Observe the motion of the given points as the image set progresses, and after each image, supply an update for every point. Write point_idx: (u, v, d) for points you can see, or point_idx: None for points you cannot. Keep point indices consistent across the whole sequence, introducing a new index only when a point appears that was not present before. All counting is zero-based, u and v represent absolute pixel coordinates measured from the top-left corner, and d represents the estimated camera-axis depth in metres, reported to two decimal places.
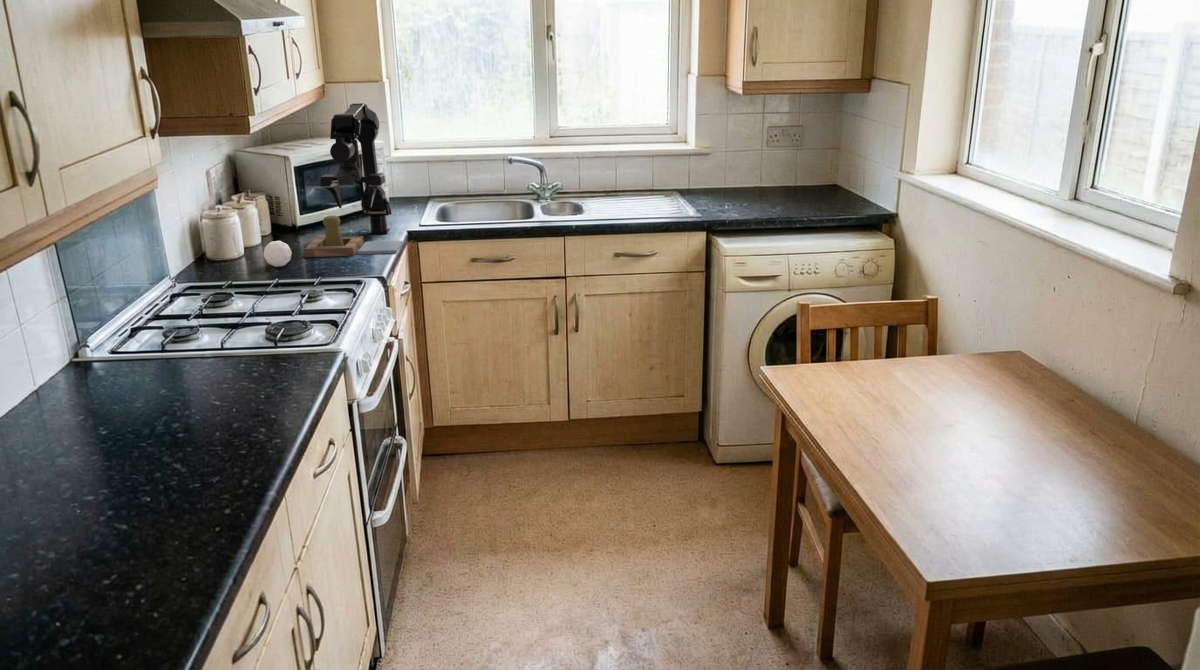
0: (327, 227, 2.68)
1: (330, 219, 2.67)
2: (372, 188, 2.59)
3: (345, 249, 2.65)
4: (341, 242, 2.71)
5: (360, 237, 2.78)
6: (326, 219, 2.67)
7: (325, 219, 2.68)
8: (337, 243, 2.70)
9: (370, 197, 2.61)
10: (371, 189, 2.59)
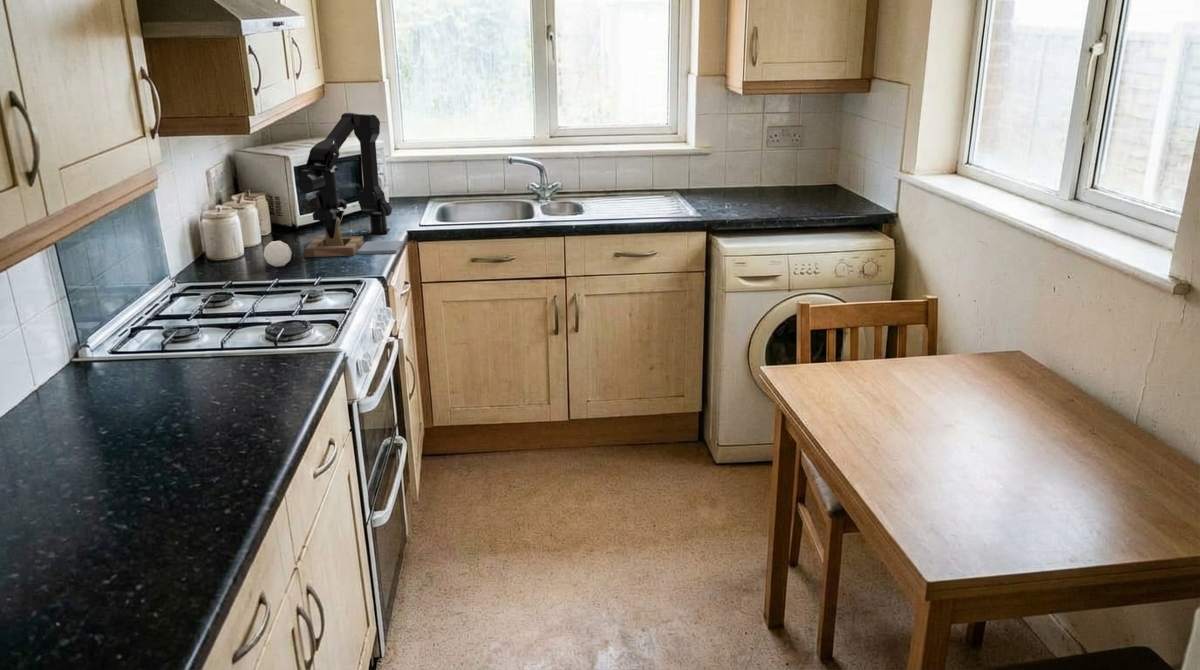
0: None
1: None
2: None
3: (345, 249, 2.65)
4: (341, 242, 2.71)
5: (360, 237, 2.78)
6: None
7: None
8: (337, 243, 2.70)
9: None
10: None
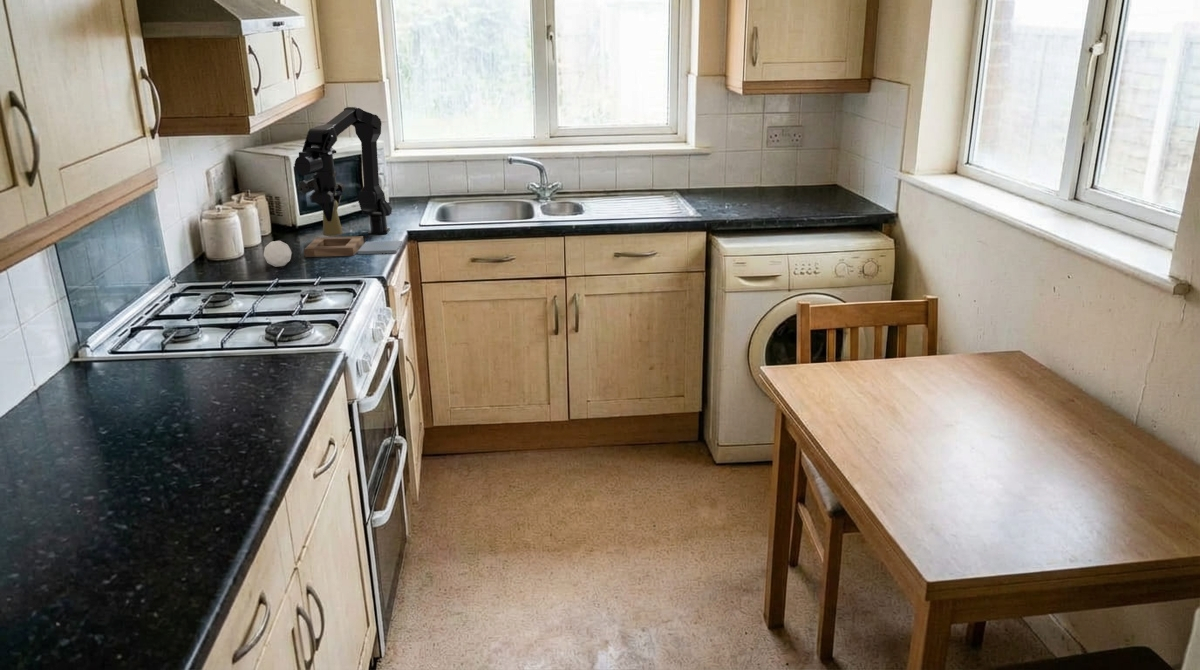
0: None
1: None
2: None
3: (345, 249, 2.65)
4: (339, 225, 2.69)
5: (360, 237, 2.78)
6: None
7: None
8: (335, 226, 2.68)
9: None
10: None
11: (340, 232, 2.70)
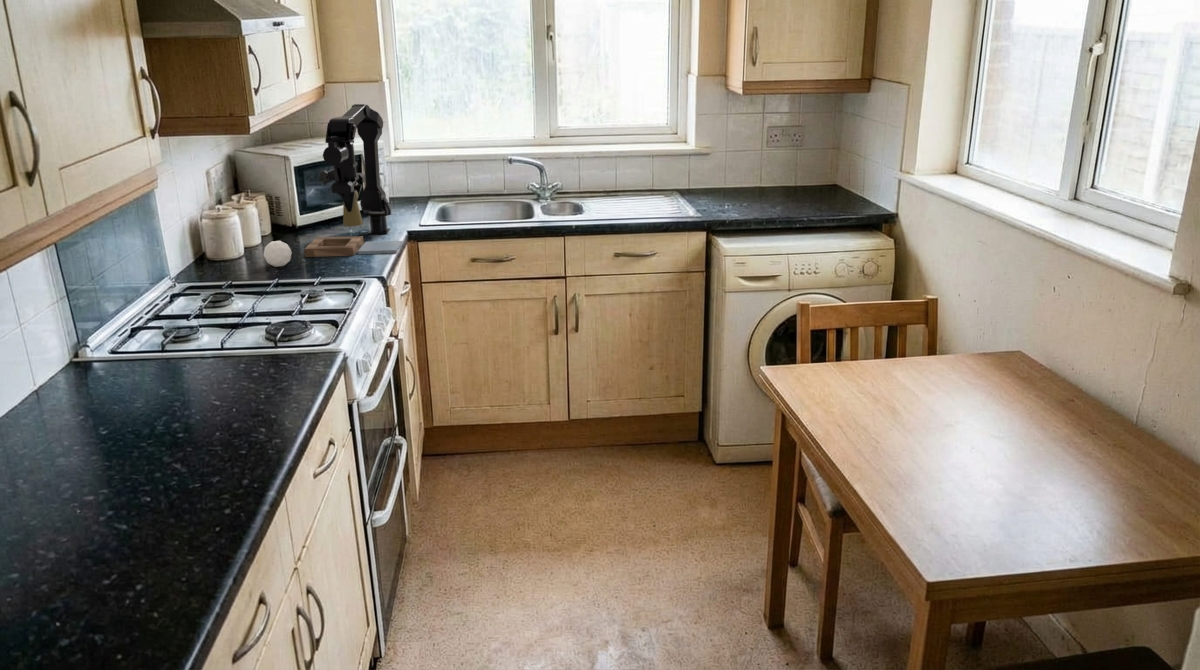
0: None
1: None
2: None
3: (345, 249, 2.65)
4: (359, 216, 2.69)
5: (360, 237, 2.78)
6: None
7: None
8: (355, 216, 2.67)
9: None
10: None
11: (360, 223, 2.69)
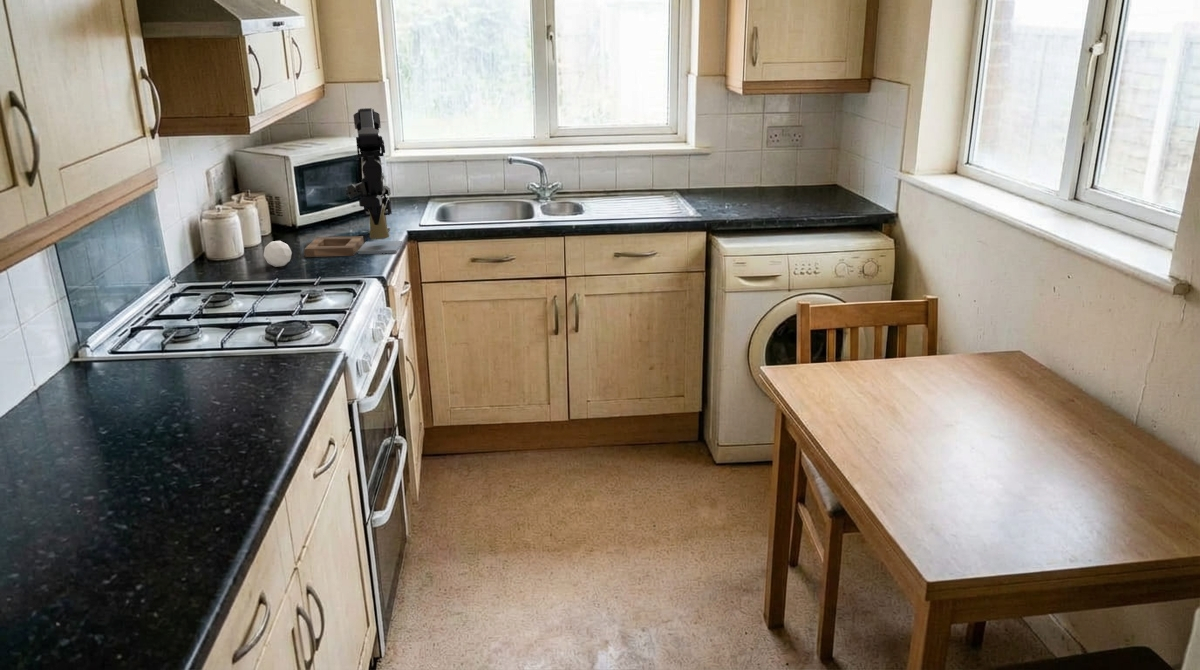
0: None
1: None
2: None
3: (345, 249, 2.65)
4: (386, 229, 2.71)
5: (360, 237, 2.78)
6: None
7: None
8: (382, 229, 2.69)
9: None
10: None
11: (387, 235, 2.71)
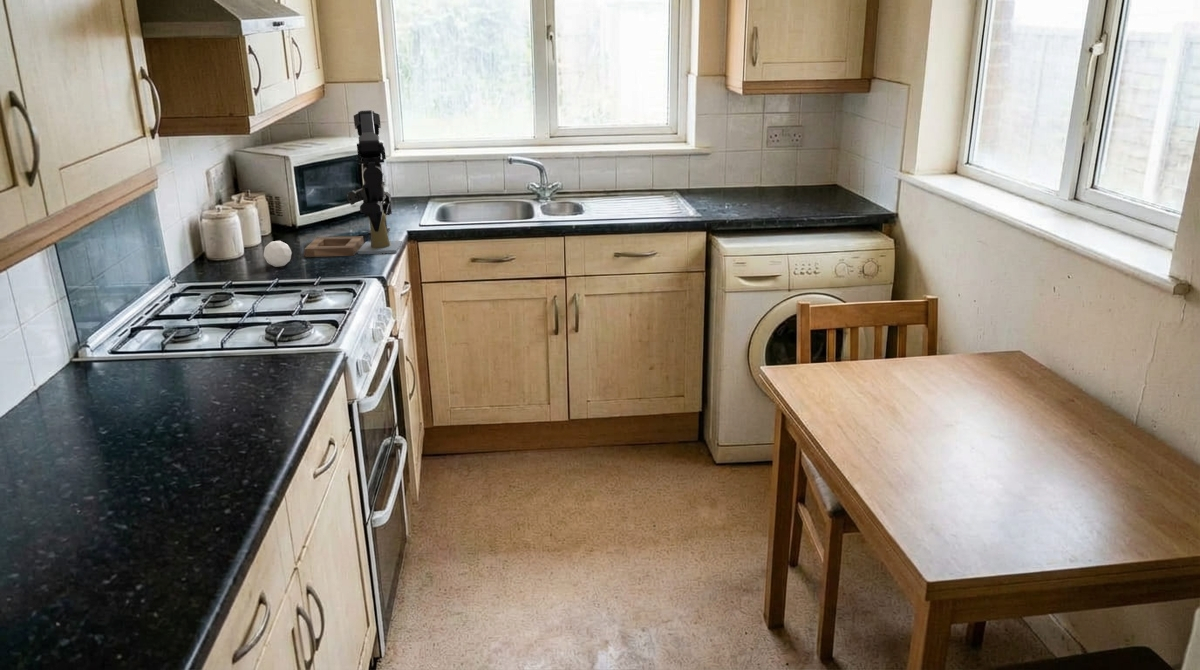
0: None
1: None
2: None
3: (345, 249, 2.65)
4: (386, 238, 2.71)
5: (360, 237, 2.78)
6: None
7: None
8: (382, 238, 2.70)
9: None
10: None
11: (388, 244, 2.72)
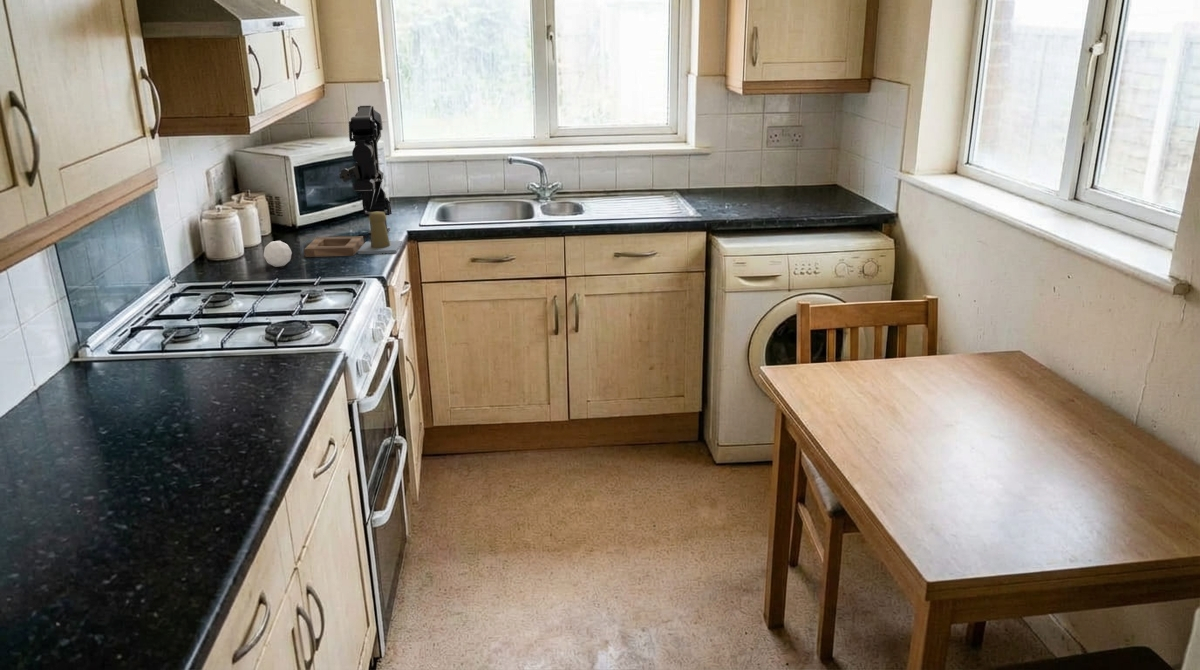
0: (373, 223, 2.69)
1: (376, 215, 2.67)
2: None
3: (345, 249, 2.65)
4: (386, 238, 2.71)
5: (360, 237, 2.78)
6: (372, 215, 2.68)
7: (371, 215, 2.68)
8: (383, 238, 2.70)
9: None
10: None
11: (388, 244, 2.72)
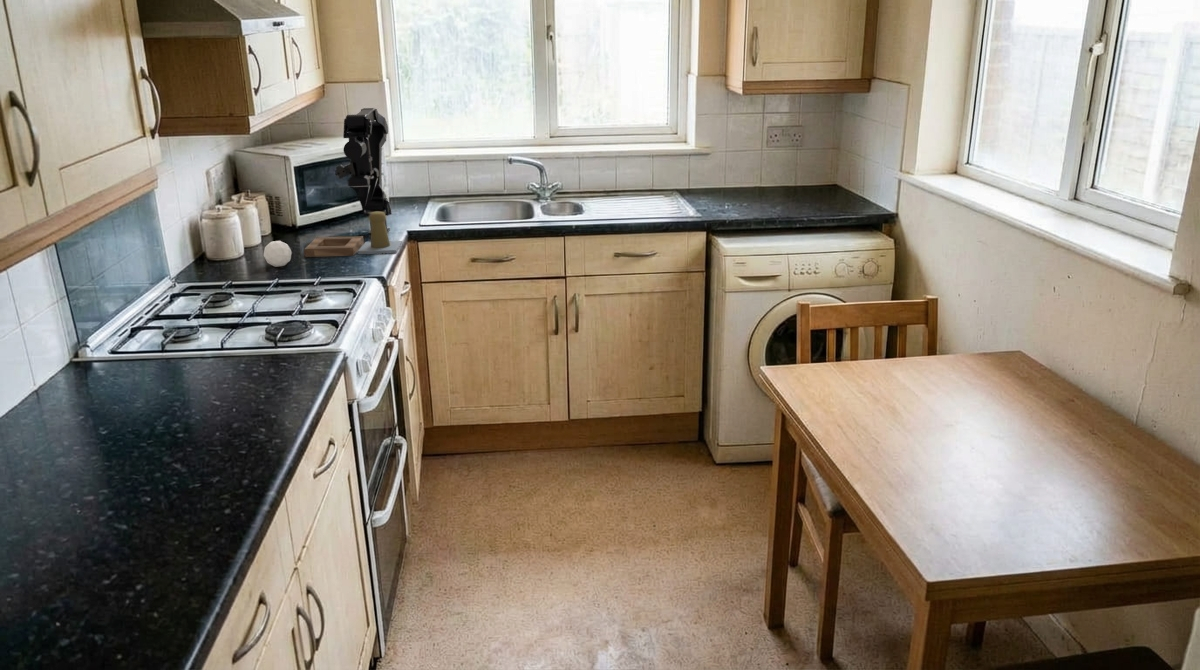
0: (373, 223, 2.69)
1: (376, 215, 2.67)
2: None
3: (345, 249, 2.65)
4: (386, 238, 2.71)
5: (360, 237, 2.78)
6: (372, 215, 2.68)
7: (371, 215, 2.68)
8: (383, 238, 2.70)
9: None
10: None
11: (388, 244, 2.72)
